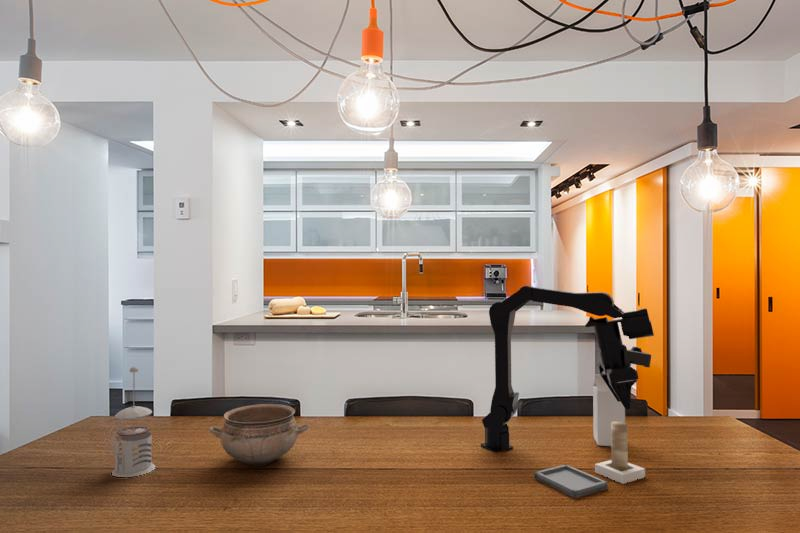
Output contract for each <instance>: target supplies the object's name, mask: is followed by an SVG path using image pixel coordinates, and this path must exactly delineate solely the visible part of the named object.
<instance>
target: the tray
mask: <svg viewBox="0 0 800 533" xmlns="http://www.w3.org/2000/svg"><path fill="white" fill-rule="evenodd" d="M534 479H535V480H537V481H538V482H541V483H543V484H545V485H548V486H549V487H551V488H553V489H556V490H557V491H559V492H562V493H563V494H565V495H567V496H570V497H571V498H573V499H578V498H581V497H584V496H588V495H591V494H594V493H599V492H601V491H605V490H608V489H609V488H608V481H606V480H604V479H602V478H599V477H597V476H595V475H592V474H589V473H588V472H586V471H583V470H580V469H578V468H576V467H574V466H572V465H568V463H567V464H561V465H557V466H554V467H550V468H545V469H542V470H538V471H534Z"/></svg>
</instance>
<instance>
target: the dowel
mask: <svg viewBox="0 0 800 533" xmlns="http://www.w3.org/2000/svg"><path fill="white" fill-rule="evenodd" d="M628 436H629V435H628V423H626V422H625V423H624V422H611V446H610V448H611V454H610V455H611V460H612V468H614V469H616V470H619V471H621V472H622V471H625V470H628V463H629V460H628V459H629V457H628V456H629V454H628V446H629V445H628V442H629V441H628V439H629V438H628Z"/></svg>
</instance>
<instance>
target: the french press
mask: <svg viewBox="0 0 800 533" xmlns="http://www.w3.org/2000/svg"><path fill="white" fill-rule="evenodd" d="M137 372H139V368H138V367H137V366H131V367H130V368H129V373H133V380H132V381H133V384H132V385H133V390H132V391H133V395H132V397H133V400H132V402H133V405H132V406H129V407H126V408H124V409H122V410H120V411H118V412H117V413H116V414H115V415H114V417H115V418H116V420H121V421H130V420H132V424H133V425H132V426H127V427H125V425H124V424H120V425H119V424H118V423H115V424H114V425H113V426H112V427H111V429H110V430H109V432H108V434H107V439H106V440H107V441H106V445H107V446H106V447H107V450H108V451H109V453H110V454H111V455H113V456H114V457H115V459H114V461H115V462H114V465H115V467H114V469H113V470H112V471H111V472H112V475H114V476H117V477H132V476H138V477H140V476H139V475H142V476H144V475H143V474H145V475H147V474H146V473H148V474H150V473H152V472H153V471H155V470H154V469H156V468H157V466H156V465H155V464H154V462H152V459H153V458H152V443H153V442H152V441H153V440H152V438H153V437H152V436H153V435H152V433H151V432H149V431H150V430H151V428H150V427H149V426H147V425H135V420H136V419H137V420H138V419H142V418H146V417H148V416H151V414H152V413H153V411H152V409H150V408H148V407H145V406H144V407H143V406H136V405H135V377H136V376H135V373H137ZM115 426H116V428H117V429H116V430H115V432H114V433H113V438H112V449H113V451H114V453H113V452H112V451H111V449H110V445H109V439H110V436H111V433H112V430H113V429H114V427H115ZM116 434H117V437H116ZM120 441H121V442H120ZM120 446H121V447H120ZM155 467H156V468H155ZM152 470H153V471H152ZM151 471H152V472H151ZM149 472H150V473H149Z"/></svg>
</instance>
